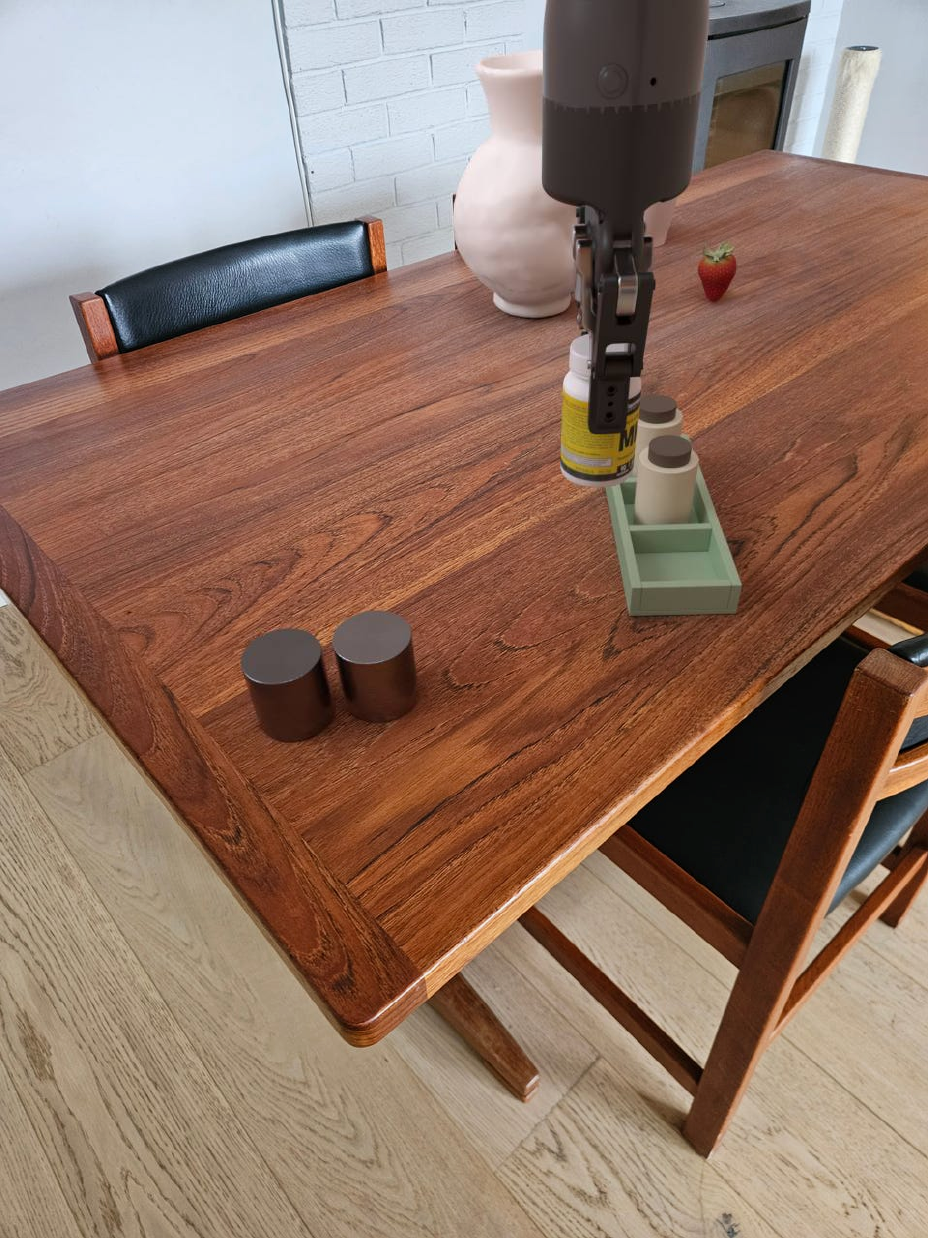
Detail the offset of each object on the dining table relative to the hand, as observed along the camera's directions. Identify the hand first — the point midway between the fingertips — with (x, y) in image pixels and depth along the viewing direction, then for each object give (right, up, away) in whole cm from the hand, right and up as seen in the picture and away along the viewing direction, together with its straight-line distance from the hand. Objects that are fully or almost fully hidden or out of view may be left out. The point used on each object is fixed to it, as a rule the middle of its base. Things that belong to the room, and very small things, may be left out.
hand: (601, 407), depth 50 cm
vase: (+1, +32, +68) cm, 75 cm away
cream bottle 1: (+10, +1, +31) cm, 32 cm away
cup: (+22, +50, +87) cm, 103 cm away
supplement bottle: (0, -3, +3) cm, 5 cm away
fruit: (+27, +32, +66) cm, 78 cm away
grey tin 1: (-21, -20, +10) cm, 31 cm away
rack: (+10, -5, +25) cm, 28 cm away
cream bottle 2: (+10, -4, +25) cm, 27 cm away
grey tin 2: (-15, -19, +11) cm, 26 cm away
